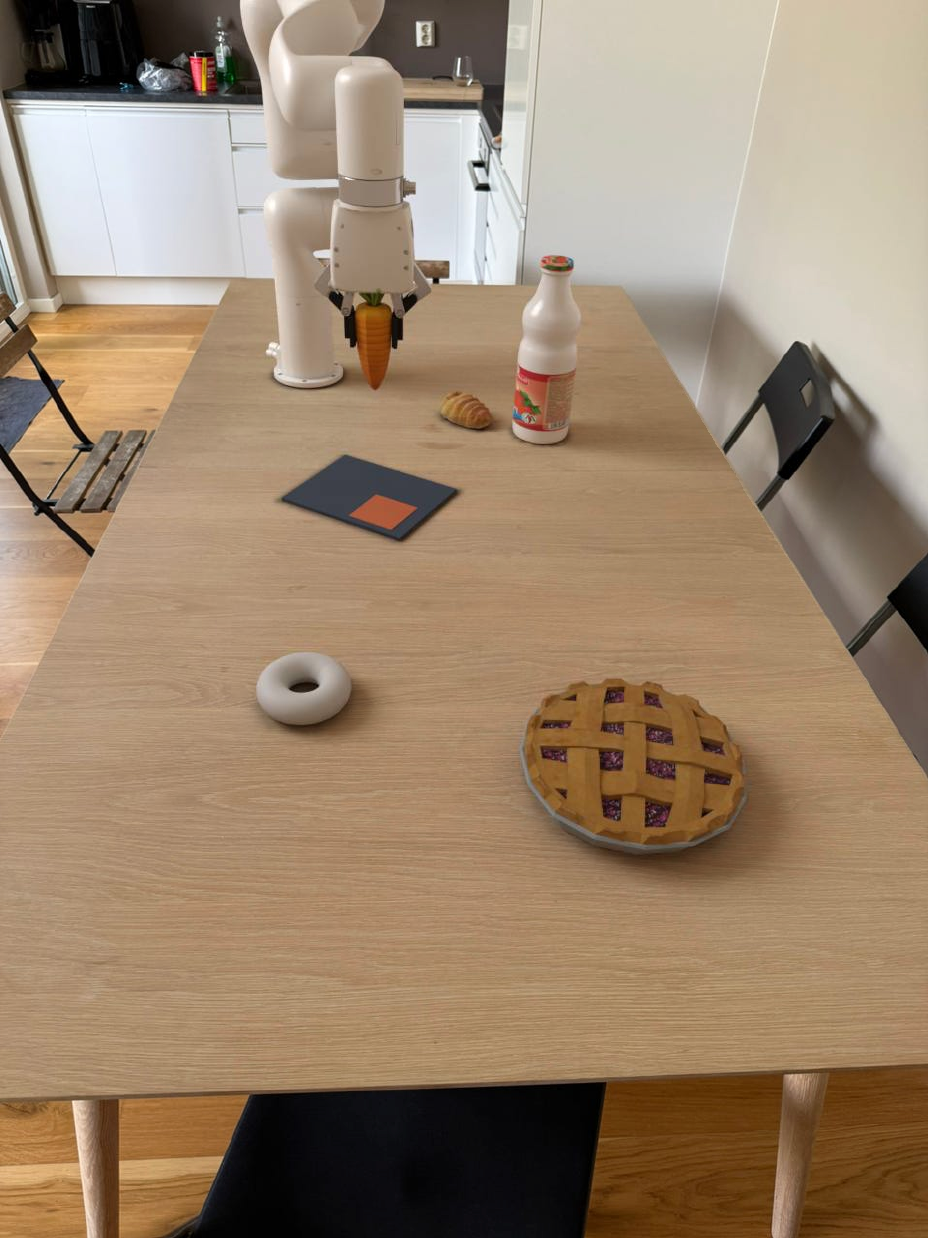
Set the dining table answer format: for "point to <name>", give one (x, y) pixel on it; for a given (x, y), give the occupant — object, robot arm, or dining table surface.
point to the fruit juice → (547, 357)
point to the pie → (633, 766)
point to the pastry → (465, 410)
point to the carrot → (373, 337)
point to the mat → (370, 496)
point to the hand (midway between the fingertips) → (374, 343)
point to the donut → (309, 704)
